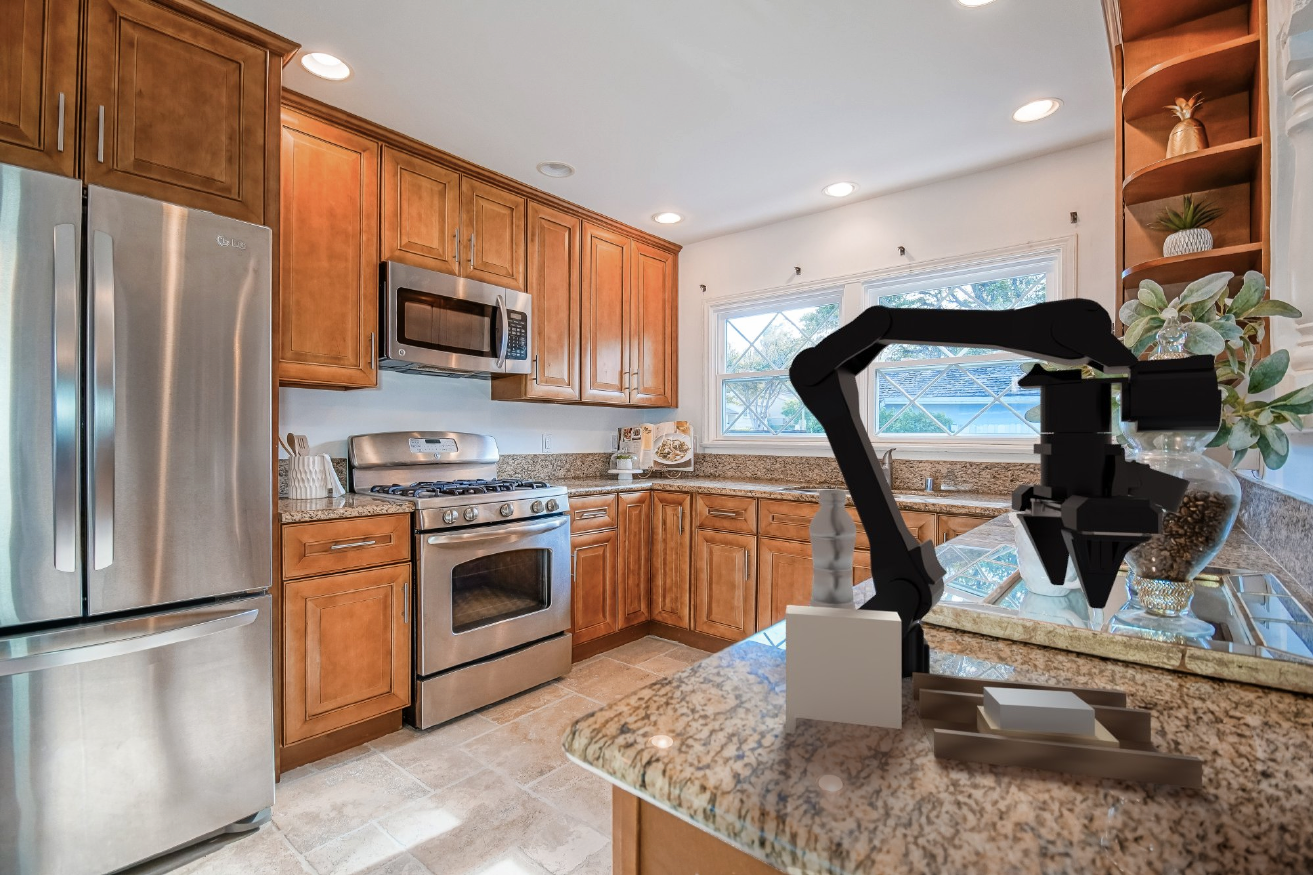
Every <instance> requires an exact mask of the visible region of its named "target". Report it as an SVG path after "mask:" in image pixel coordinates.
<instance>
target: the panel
mask: <svg viewBox="0 0 1313 875" xmlns="http://www.w3.org/2000/svg"><path fill="white" fill-rule="evenodd" d="M857 609H858V608H856V609H842V608H826V607H811V606H810V605H809V606H808V605H793V604H787V605H786V609H785V733H786V734H793V735H795V734H796V729H797V728H796V727H797V726H796V725H797V724H796V723H797V719H806V720H814V721H823V722H824V721H825V722H832V723H833V722H834V723H841V724H842V723H844V724H852V725H861V726H870V727H879V728H888V729H898V730H902V729H903V727H902V726H903V725H902V723H903V722H902V720H903V719H902V714H903V713H902V710H903V709H902V697H903V696H902V691H903V690H902V682H903V681H902V679H903V678H901V619H900V617H899V615H898V613H897V612H888V611H873V610H857Z"/></svg>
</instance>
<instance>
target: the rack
mask: <svg viewBox="0 0 1313 875" xmlns="http://www.w3.org/2000/svg"><path fill="white" fill-rule="evenodd" d="M984 687H994V688H1012V689H1030V690H1047V691H1065V692H1072V693H1073V694H1075V695H1076V696H1077V697H1079V698H1080V699H1081V700H1083V701H1084V702H1085V703H1086V704H1088V705H1089V706H1090V707H1092V708H1093V709H1094V710H1095V719H1096V720H1097V721H1098V722H1099V723H1100V724H1101V725H1102V726H1103V727H1104V728H1105V729H1106V730H1107V731H1108V732H1109V733H1110V734H1111V735H1112V736H1114V737H1115V738H1116V739H1117V740H1118V741H1119V748H1110V747H1101V746H1091V745H1082V744H1073V743H1064V742H1054V741H1045V740H1036V739H1027V738H1017V737H1008V736H999V735H990V734H981V733H979V731H978V729H977V706H984ZM909 692H910V695H911V697H912V699H913V703H914V705H915V708H916V711H917V714H918V716H919V719H920V722H921V723H922V726H923V729H924V732H925V735H926V737H927V739H928V742H929V745H930V747H931V750H932V753H933V756H934V758H937V759H947V760H952V761H954V760H955V761H961V762H963V761H964V762H971V763H977V764H978V763H980V764H986V765H987V764H988V765H996V766H1004V767H1013V768H1022V769H1029V770H1036V771H1037V770H1039V771H1046V772H1054V773H1055V772H1056V773H1062V774H1071V775H1079V776H1088V777H1096V778H1106V779H1111V780H1112V779H1114V780H1122V781H1129V782H1130V781H1131V782H1137V783H1147V784H1154V785H1163V786H1170V787H1172V786H1173V787H1179V788H1188V789H1189V788H1190V789H1197V790H1203V760H1202V759H1200V758H1199V757H1198V756H1192V755H1181V754H1174V753H1163V752H1162V751H1161V750H1160V749H1159V748H1158V747H1157V746H1156V745H1154V744H1153V743H1152V726H1151V724H1152V720H1151V719H1152V712H1150V711H1149V710H1148V709H1140V708H1129V707H1127V693H1126V692H1125V691H1124V690H1119V689H1118V690H1117V689H1107V688H1098V687H1096V688H1095V687H1084V686H1073V685H1061V684H1052V683H1051V684H1050V683H1039V682H1027V681H1017V680H1007V679H1006V680H1004V679H995V678H984V677H972V676H971V677H970V676H959V675H949V674H947V675H946V674H940V673H939V674H938V673H937V674H936V673H930V674H927V673H916V672H913V677H912V691H909Z"/></svg>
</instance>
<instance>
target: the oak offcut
mask: <svg viewBox="0 0 1313 875" xmlns="http://www.w3.org/2000/svg"><path fill="white" fill-rule="evenodd" d="M977 729H978V731H979V733H981V734H990V735H999V736H1008V737H1017V738H1027V739H1036V740H1045V741H1054V742H1064V743H1073V744H1082V745H1091V746H1101V747H1110V748H1119V741H1118V740H1117V739H1116V738H1115V737H1114V736H1112V735H1111V734H1110V733H1109V732H1108V731H1107V730H1106V729H1105V728H1104V727H1103V726H1102V725H1101V724H1100V723H1099V722H1098V721H1097V720H1096V719H1095V735H1084V734H1068V733H1053V732H1037V731H1022V730H1007V729H1000V728H999V727H998V726H997V725H996V724H995V722H994V721H993V720H992V719H991V718H990V717H989V716H988V714H987V713H986V712H985V711H984V706H977Z"/></svg>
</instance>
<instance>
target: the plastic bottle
mask: <svg viewBox="0 0 1313 875" xmlns="http://www.w3.org/2000/svg"><path fill="white" fill-rule="evenodd" d="M846 499H847V492H846V490H843V489H820V490H819V491H818V500H817V501H818V505H819V504H820V507H819V508H818V510H817V512H816V513H815V514H814V516H813V518H812V519H811V521H810V524H809V528H808V529H809V531H808V532H809V538H810V539H809V540H810V547H811V554H812V565H813V567H812V575H813V576H812V585H811V586H812V588H811V598H810V600H809V601H810V602H809V606H811V607H826V608H842V609H857V608H856V603H855V601H854V589H853V588H854V587H853V566H854V565H853V564H854V551H855V545H856V536H857V527H856V523H855V521H854V519H853V518H852V516H851V514H850V513H849V512H848V511H847V509H846V506H845V505H847V503H848V502H847V500H846Z"/></svg>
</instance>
